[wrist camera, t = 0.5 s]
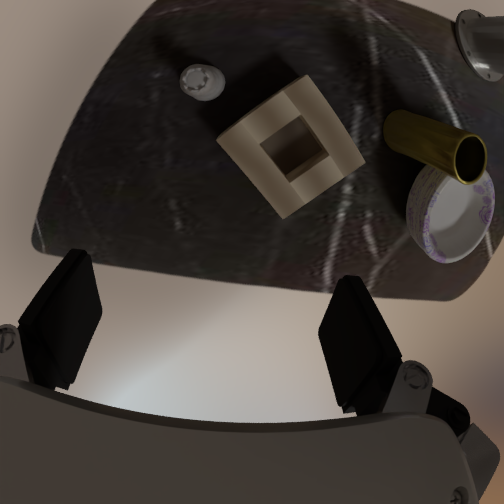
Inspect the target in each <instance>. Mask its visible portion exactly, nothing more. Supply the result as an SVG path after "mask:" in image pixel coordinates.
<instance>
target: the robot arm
mask: <svg viewBox="0 0 504 504" xmlns="http://www.w3.org/2000/svg"><path fill="white" fill-rule="evenodd" d="M455 30H456V37H457V41H458V44H459V47H460V50H461V52H462V54H463V57H464V58H465V60H466V62H467V63H468V65H469V66H470V68H471V69H472V70H473V71H474V72H475V73H476V74H477V75H478V76H479V77H481V78H482V79H484V80H488V81H498V80H499V79H501V77H502V76H503V74H504V16H496V17H485V16H484V15H483V14H481V13H479V12H477V11H475V10H471V9H470V10H464V11H461V12H460V13H459V14H458V16H457V18H456V23H455ZM101 316H102V306H101V302H100V298H99V294H98V289H97V285H96V280H95V275H94V271H93V266H92V260H91V256H90V255H89V254H87V252H86V251H85V250H80V249H71V250H70V251H69V252H68V253H67V255H66V256H65V257H64V258H63V260H62V261H61V262H60V263H59V265H58V266H57V267H56V268H55V270H54V271H53V272H52V274H51V275H50V276H49V277H48V279H47V280H46V281H45V283H44V284H43V285H42V287H41V288H40V290H39V291H38V292H37V294H36V295H35V297H34V298H33V299H32V301H31V302H30V304H29V305H28V307H27V308H26V310H25V311H24V313H23V314H22V316H21V317H20V319H19V320H18V322H19V326H18V328H16V327H15V326H13V325H11V324H4V325H1V326H0V504H479V500H480V498H481V497H482V495H483V493H484V491H485V489H486V488H487V486H488V484H489V482H490V480H491V478H492V476H493V474H494V472H495V470H496V468H497V466H498V464H499V461H500V453H499V449H498V448H497V446H496V445H495V444H494V443H493V442H492V441H491V440H490V439H489V438H488V437H487V436H486V435H485V434H484V433H483V432H482V431H481V430H480V429H479V428H478V427H477V426H476V425H475V424H474V423H472V424H471V425H470V415H469V412H468V410H467V409H466V407H465V406H464V405H462V404H461V403H459V402H457V401H456V400H454V399H452V398H451V397H449V396H447V395H446V394H444V393H442V392H440V391H439V390H437V389H435V388H434V387H432V383H433V379H432V376H431V373H430V372H429V370H428V369H427V368H426V367H425V366H424V365H422V364H421V363H419V362H417V361H412V360H409V361H405V362H402V359H401V357H402V355H401V352H400V350H399V348H398V346H397V344H396V342H395V341H394V338H393V336H392V334H391V332H390V330H389V329H388V327H387V325H386V323H385V321H384V319H383V317H382V315H381V313H380V312H379V310H378V308H377V306H376V304H375V303H374V301H373V299H372V297H371V295H370V293H369V292H368V290H367V288H366V286H365V285H364V283H363V281H362V279H361V278H360V277H359V276H350V275H345V276H344V277H343V278H342V279H339V280H338V283H337V285H336V288H335V290H334V293H333V295H332V298H331V300H330V303H329V306H328V308H327V310H326V313H325V315H324V317H323V320H322V322H321V325H320V327H319V331H318V336H319V340H320V343H321V346H322V350H323V354H324V357H325V361H326V364H327V368H328V371H329V374H330V378H331V382H332V386H333V389H334V393H335V397H336V400H337V404H338V406H340V407H342V410H343V413H352V412H356V414H357V416H356V417H349V418H339V419H329V420H319V421H306V422H287V423H233V422H214V421H201V420H190V419H181V418H173V417H165V416H158V415H153V414H146V413H141V412H135V411H130V410H125V409H120V408H116V407H111V406H107V405H103V404H99V403H95V402H92V401H88V400H84V399H81V398H77V397H74V396H70V395H67V394H64V393H60V392H57V391H54V390H55V387H59V388H62V389H65V390H68V389H69V386H70V384H73V383H74V381H75V379H76V376H77V373H78V371H79V368H80V366H81V363H82V360H83V358H84V356H85V353H86V351H87V348H88V346H89V343H90V341H91V339H92V336H93V334H94V332H95V330H96V327H97V325H98V323H99V321H100V319H101Z"/></svg>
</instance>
